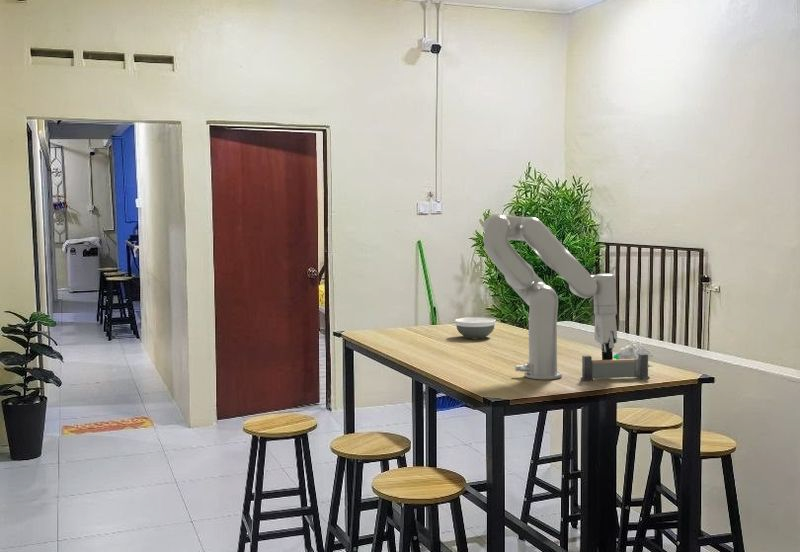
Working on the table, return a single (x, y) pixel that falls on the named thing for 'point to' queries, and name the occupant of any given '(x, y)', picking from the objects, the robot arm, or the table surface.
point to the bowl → (475, 326)
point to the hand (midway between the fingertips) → (607, 362)
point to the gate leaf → (615, 368)
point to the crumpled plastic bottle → (632, 351)
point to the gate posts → (588, 367)
